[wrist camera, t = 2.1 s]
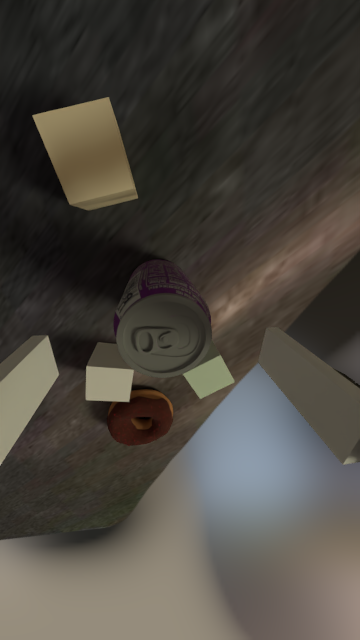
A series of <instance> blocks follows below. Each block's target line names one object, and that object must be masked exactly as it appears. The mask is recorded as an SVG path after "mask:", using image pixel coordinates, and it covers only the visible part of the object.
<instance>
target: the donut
mask: <svg viewBox="0 0 360 640" xmlns="http://www.w3.org/2000/svg"><path fill="white" fill-rule="evenodd" d="M172 415H173V408H172V404H171V402H170V400H169V399H168V398H167V397H166V396H165V395H163V394H162V393H161V392H159V391H156V390H148V389H142V390H133V391H131V393H130V400H129V402H118V401H113V403H112V404H111V406H110V409H109V412H108V417H107V424H108V429H109V431H110V433H111V436H112V437H113V438H114V439H115V440H116V441H117V442H119V443H123V444H126V445H129V446H130V445H141V444H147V443H150V442H152V441H154V440H155V441H156V439H158V438H160V437H161V436H163V435H165V434H166V433H167V432H168V431H169V429H170V427H171V424H172V422H173V418H172V417H173V416H172ZM135 417H151V418H149V419H139V418H135Z"/></svg>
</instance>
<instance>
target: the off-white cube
mask: <svg viewBox="0 0 360 640" xmlns="http://www.w3.org/2000/svg"><path fill="white" fill-rule="evenodd" d="M133 371H134V369H132V368H131V367H130V366H129V365H128V364H127V363H126V362H125V361H124V360H123V358H122V357H121V355H120V353H119V351H118V348H117V344H112V343H102V342H98V343H97V345H96V347H95V349H94V351H93V353H92V355H91V357H90V360H89V362H88V364H87V366H86V400H94V401H118V402H129V400H130V393H131V386H132V378H133Z"/></svg>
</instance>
